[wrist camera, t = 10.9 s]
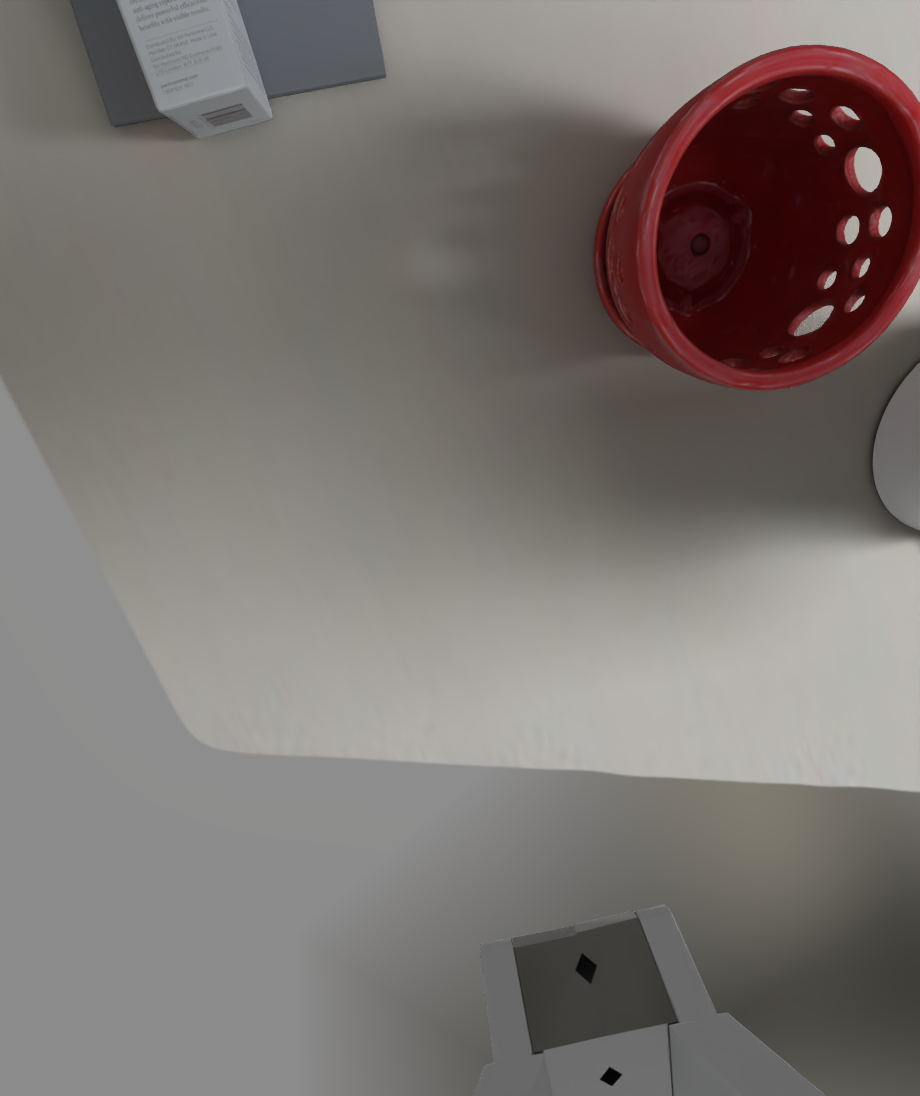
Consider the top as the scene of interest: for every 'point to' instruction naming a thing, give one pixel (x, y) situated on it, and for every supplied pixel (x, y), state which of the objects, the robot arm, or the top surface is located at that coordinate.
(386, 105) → the top surface
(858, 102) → the plant pot
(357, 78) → the slate mat
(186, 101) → the skincare box
